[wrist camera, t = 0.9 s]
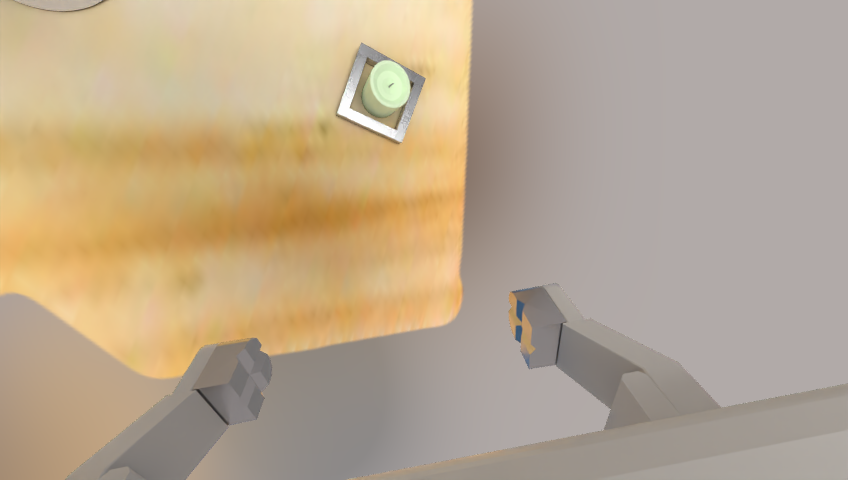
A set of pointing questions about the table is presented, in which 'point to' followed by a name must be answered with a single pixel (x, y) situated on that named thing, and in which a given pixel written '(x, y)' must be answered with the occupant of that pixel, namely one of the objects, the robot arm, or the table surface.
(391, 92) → the candle
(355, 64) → the holder collar
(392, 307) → the table surface
